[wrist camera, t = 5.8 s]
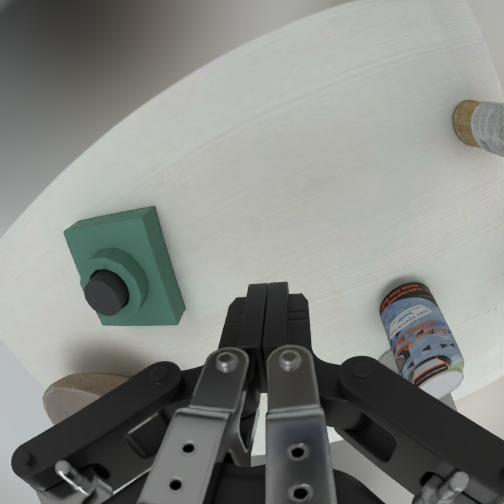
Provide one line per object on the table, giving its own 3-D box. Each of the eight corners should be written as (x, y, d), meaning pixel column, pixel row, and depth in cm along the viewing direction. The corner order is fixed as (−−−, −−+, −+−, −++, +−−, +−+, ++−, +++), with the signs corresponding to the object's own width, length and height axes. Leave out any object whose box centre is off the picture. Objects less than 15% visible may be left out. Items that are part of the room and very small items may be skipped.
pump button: (88, 271, 28) (78, 281, 26) (120, 267, 27) (110, 279, 25) (103, 304, 29) (93, 316, 27) (134, 303, 29) (126, 316, 27)
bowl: (151, 321, 35) (119, 382, 27) (247, 435, 45) (240, 487, 36) (44, 352, 43) (15, 391, 34) (134, 441, 52) (119, 479, 43)
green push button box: (78, 220, 30) (51, 239, 26) (154, 205, 29) (132, 225, 24) (113, 310, 36) (95, 336, 31) (185, 308, 34) (172, 337, 29)
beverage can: (417, 264, 29) (467, 342, 18) (436, 311, 31) (475, 387, 20) (366, 294, 31) (394, 381, 20) (390, 336, 33) (416, 419, 22)
